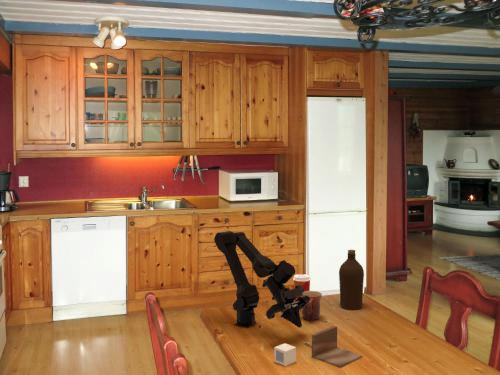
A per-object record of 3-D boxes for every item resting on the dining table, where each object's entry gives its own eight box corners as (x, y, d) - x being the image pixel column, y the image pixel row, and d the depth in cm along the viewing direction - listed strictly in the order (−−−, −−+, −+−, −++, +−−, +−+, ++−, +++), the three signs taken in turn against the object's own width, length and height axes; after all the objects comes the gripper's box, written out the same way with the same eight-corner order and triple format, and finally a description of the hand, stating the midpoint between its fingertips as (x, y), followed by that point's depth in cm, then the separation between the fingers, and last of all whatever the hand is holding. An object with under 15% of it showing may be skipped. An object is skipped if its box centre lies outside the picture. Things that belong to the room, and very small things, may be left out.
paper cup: (291, 305, 239) (291, 274, 238) (308, 304, 240) (308, 273, 239) (294, 310, 232) (294, 278, 230) (312, 310, 232) (312, 278, 231)
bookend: (311, 357, 183) (311, 334, 182) (333, 347, 191) (334, 325, 190) (340, 368, 174) (340, 344, 174) (362, 357, 182) (362, 334, 182)
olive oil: (347, 311, 230) (348, 253, 227) (334, 304, 239) (334, 249, 237) (368, 308, 234) (369, 251, 231) (354, 301, 243) (354, 246, 241)
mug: (301, 314, 227) (301, 290, 226) (322, 315, 225) (322, 291, 225) (298, 323, 216) (298, 298, 215) (320, 325, 214) (320, 299, 213)
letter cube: (274, 362, 180) (274, 347, 179) (284, 357, 183) (284, 343, 183) (285, 366, 176) (285, 351, 175) (295, 361, 179) (295, 347, 179)
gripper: (271, 283, 190) (294, 321, 183) (306, 273, 202) (329, 309, 195) (256, 300, 196) (278, 337, 189) (291, 289, 209) (313, 324, 202)
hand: (300, 326), depth 194 cm, fingers closed
